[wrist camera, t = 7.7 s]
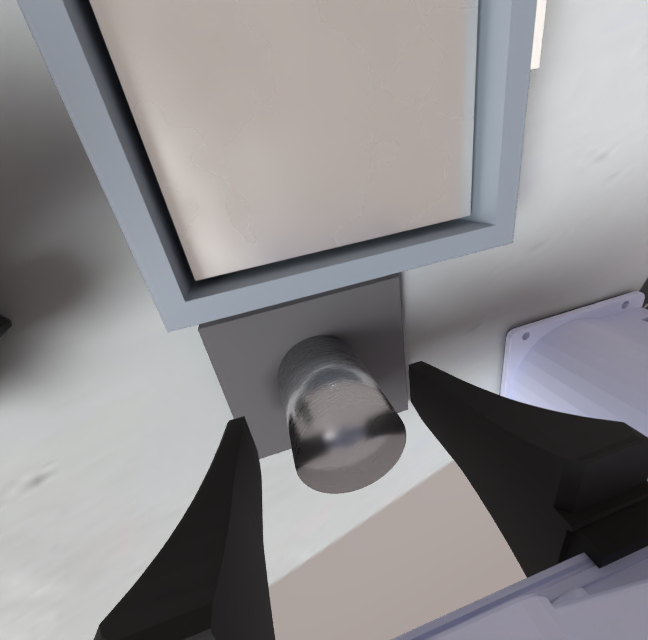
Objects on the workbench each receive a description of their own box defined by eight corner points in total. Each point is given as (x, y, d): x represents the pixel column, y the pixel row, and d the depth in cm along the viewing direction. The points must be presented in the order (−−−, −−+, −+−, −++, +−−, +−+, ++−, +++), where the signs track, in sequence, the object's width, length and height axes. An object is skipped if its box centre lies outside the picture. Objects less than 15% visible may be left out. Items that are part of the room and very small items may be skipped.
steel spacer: (354, 326, 15) (405, 390, 10) (361, 394, 16) (406, 473, 12) (270, 346, 14) (284, 423, 9) (286, 414, 16) (304, 506, 11)
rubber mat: (393, 273, 15) (399, 276, 14) (403, 402, 18) (408, 409, 18) (199, 323, 13) (197, 329, 13) (250, 452, 17) (251, 461, 16)
